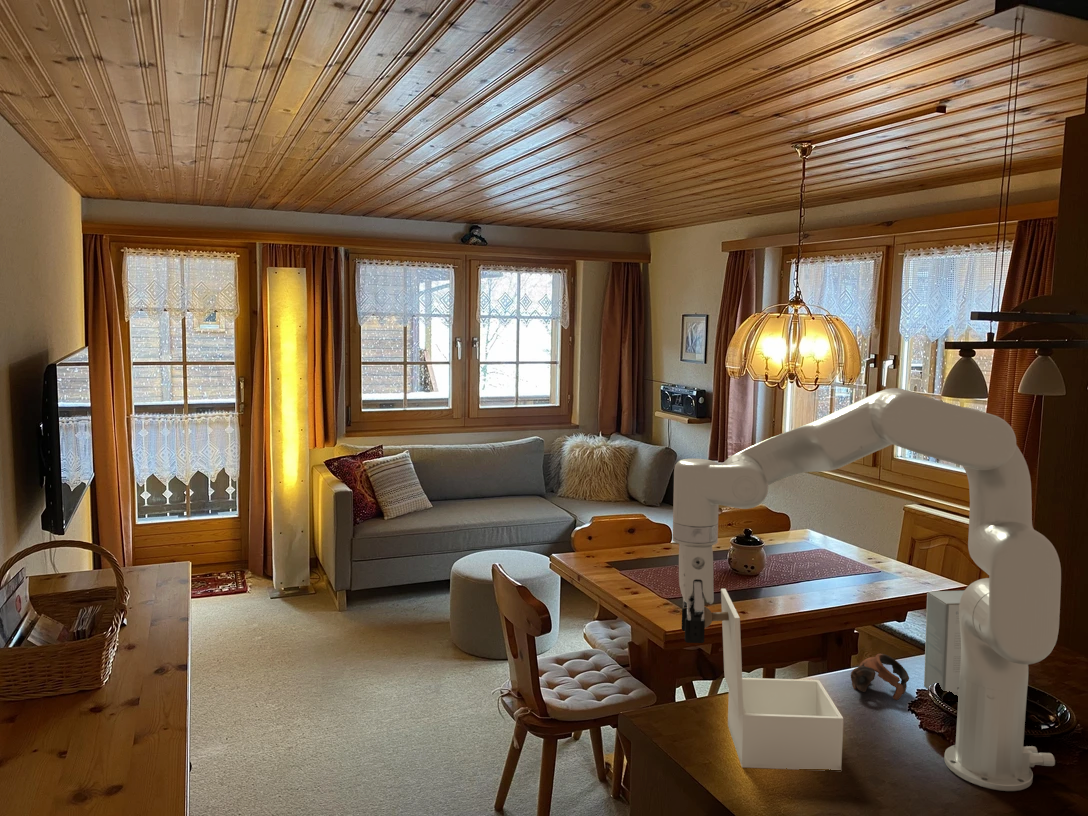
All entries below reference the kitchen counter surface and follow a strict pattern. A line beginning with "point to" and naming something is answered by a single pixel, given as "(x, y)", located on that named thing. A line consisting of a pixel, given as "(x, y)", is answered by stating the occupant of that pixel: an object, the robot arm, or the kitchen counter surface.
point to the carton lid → (730, 647)
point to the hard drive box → (943, 640)
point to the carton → (786, 725)
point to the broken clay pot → (880, 674)
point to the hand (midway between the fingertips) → (692, 635)
